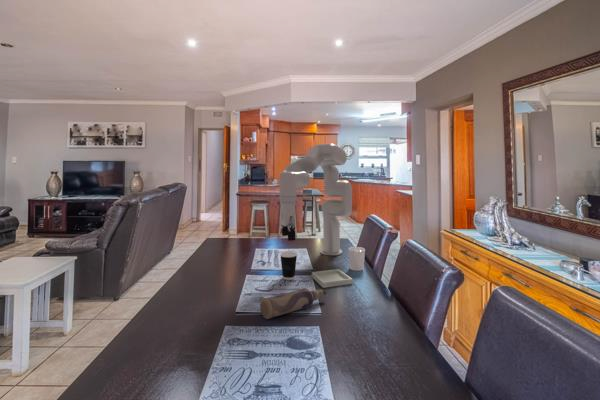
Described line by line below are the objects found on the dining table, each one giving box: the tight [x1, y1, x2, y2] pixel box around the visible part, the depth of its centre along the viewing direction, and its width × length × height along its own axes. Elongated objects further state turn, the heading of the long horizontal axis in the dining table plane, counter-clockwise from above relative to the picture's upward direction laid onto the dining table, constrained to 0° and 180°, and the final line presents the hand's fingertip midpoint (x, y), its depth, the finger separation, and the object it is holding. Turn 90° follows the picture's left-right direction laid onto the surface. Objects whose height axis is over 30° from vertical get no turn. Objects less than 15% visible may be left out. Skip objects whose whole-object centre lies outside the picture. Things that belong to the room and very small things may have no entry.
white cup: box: [348, 246, 366, 272], centre depth 144 cm, size 8×8×10 cm
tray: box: [311, 268, 354, 289], centre depth 130 cm, size 14×14×2 cm
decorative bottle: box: [259, 288, 328, 320], centre depth 103 cm, size 26×8×7 cm, turn 123°
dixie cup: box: [279, 251, 298, 281], centre depth 133 cm, size 8×8×11 cm
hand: (288, 237), depth 131 cm, fingers open, 9 cm apart
